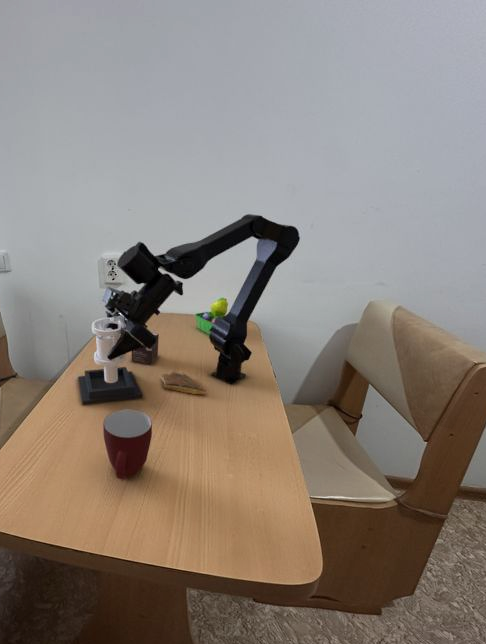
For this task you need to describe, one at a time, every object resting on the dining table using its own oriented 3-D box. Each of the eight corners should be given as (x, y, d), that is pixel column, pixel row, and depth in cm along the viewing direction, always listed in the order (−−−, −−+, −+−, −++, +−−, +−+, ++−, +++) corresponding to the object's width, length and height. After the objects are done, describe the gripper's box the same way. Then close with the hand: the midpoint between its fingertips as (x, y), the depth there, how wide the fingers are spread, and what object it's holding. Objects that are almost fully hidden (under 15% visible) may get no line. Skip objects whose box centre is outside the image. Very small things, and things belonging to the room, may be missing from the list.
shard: (205, 396, 88) (206, 389, 87) (177, 403, 85) (177, 396, 84) (182, 376, 97) (182, 369, 96) (155, 381, 94) (156, 375, 93)
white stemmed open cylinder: (132, 382, 84) (131, 321, 77) (104, 391, 81) (100, 329, 74) (117, 368, 89) (115, 310, 82) (90, 376, 86) (85, 317, 79)
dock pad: (131, 374, 98) (131, 364, 97) (142, 398, 87) (142, 387, 86) (78, 379, 95) (77, 370, 94) (82, 405, 84) (81, 394, 83)
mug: (150, 499, 59) (151, 449, 55) (100, 497, 60) (98, 447, 56) (150, 454, 69) (152, 409, 65) (107, 453, 69) (106, 408, 65)
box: (131, 361, 105) (131, 337, 102) (138, 353, 110) (138, 330, 107) (151, 365, 103) (152, 340, 99) (158, 356, 108) (159, 333, 105)
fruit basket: (192, 327, 129) (194, 296, 124) (213, 323, 132) (216, 292, 127) (212, 339, 119) (215, 305, 114) (234, 334, 123) (238, 301, 118)
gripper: (111, 264, 84) (67, 317, 85) (141, 284, 68) (86, 348, 69) (144, 294, 90) (102, 343, 91) (178, 319, 74) (127, 378, 75)
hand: (103, 351), depth 81 cm, fingers closed on white stemmed open cylinder, 7 cm apart
